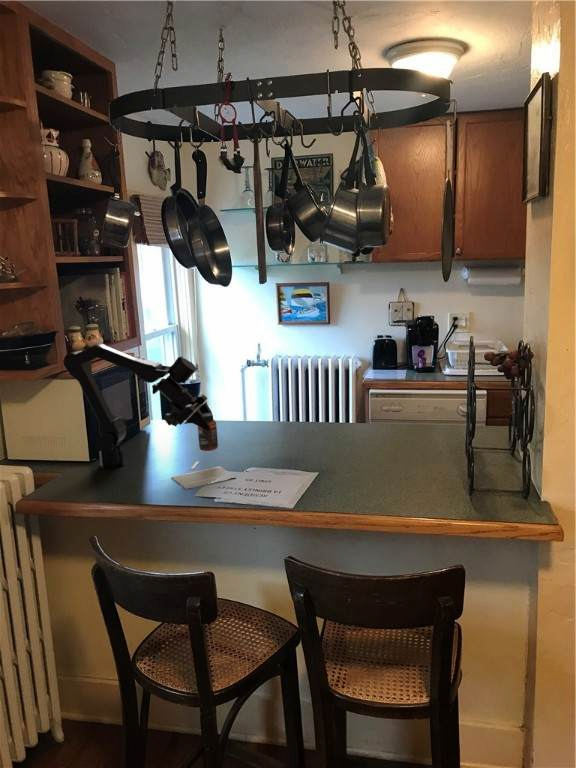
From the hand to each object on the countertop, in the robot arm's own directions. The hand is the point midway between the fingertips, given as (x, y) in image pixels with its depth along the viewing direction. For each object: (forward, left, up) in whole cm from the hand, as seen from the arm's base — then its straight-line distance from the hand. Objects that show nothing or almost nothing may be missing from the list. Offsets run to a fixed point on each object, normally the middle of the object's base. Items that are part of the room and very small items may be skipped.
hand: (211, 427), depth 196 cm
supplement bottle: (-1, +1, -7) cm, 7 cm away
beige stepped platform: (-8, -9, -13) cm, 17 cm away
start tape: (-5, +4, -13) cm, 14 cm away
